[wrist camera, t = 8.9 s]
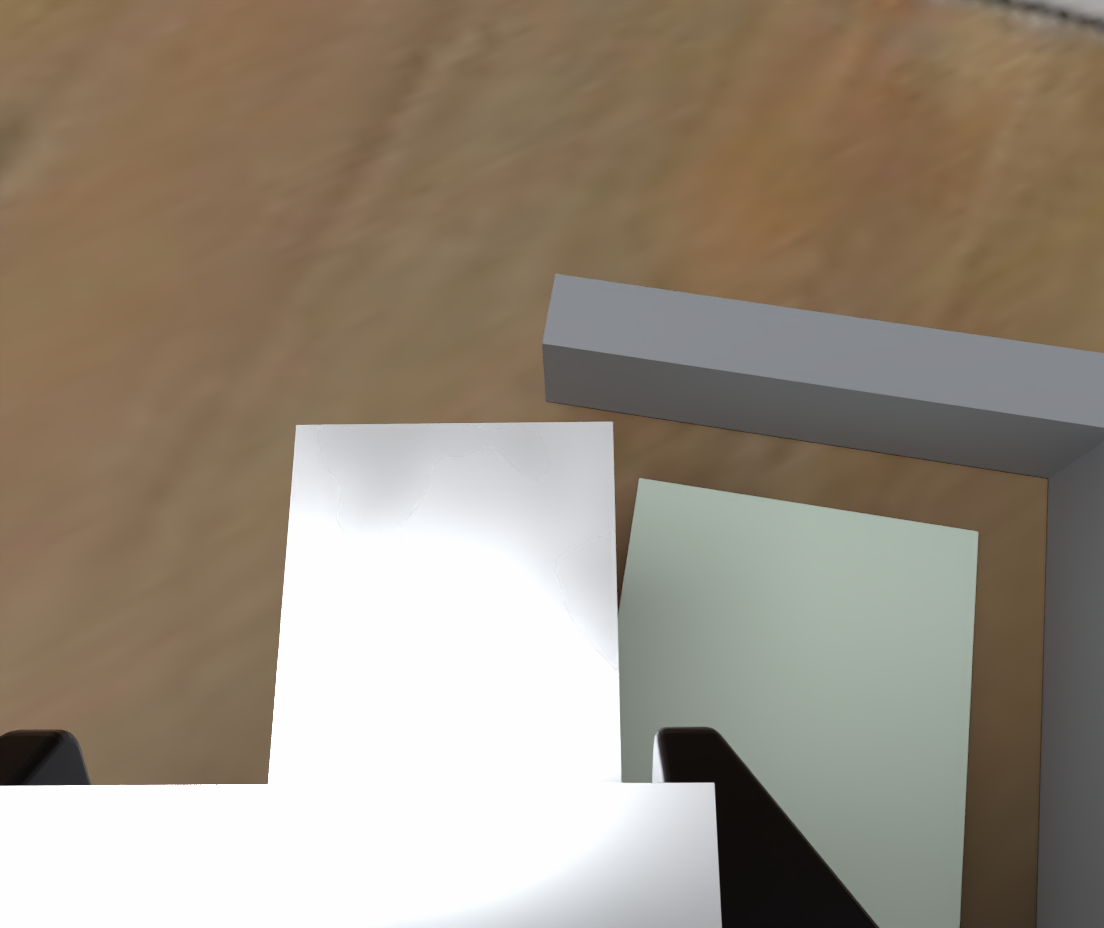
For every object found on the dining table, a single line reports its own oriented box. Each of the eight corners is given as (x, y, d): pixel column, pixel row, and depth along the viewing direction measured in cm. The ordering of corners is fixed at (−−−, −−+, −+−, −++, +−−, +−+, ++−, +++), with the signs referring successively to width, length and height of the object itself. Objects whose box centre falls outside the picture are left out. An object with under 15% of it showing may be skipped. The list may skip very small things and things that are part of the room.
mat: (946, 1072, 18) (951, 1077, 18) (559, 997, 19) (559, 1000, 19) (973, 535, 21) (978, 531, 21) (638, 481, 22) (639, 478, 22)
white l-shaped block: (619, 1012, 13) (756, 1616, 3) (295, 1013, 13) (-502, 1608, 3) (608, 470, 15) (670, -117, 5) (331, 473, 15) (-85, -102, 5)
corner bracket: (1162, 1115, 18) (1272, 1173, 15) (439, 974, 19) (416, 1005, 16) (1157, 428, 22) (1244, 373, 19) (557, 338, 23) (555, 274, 20)
